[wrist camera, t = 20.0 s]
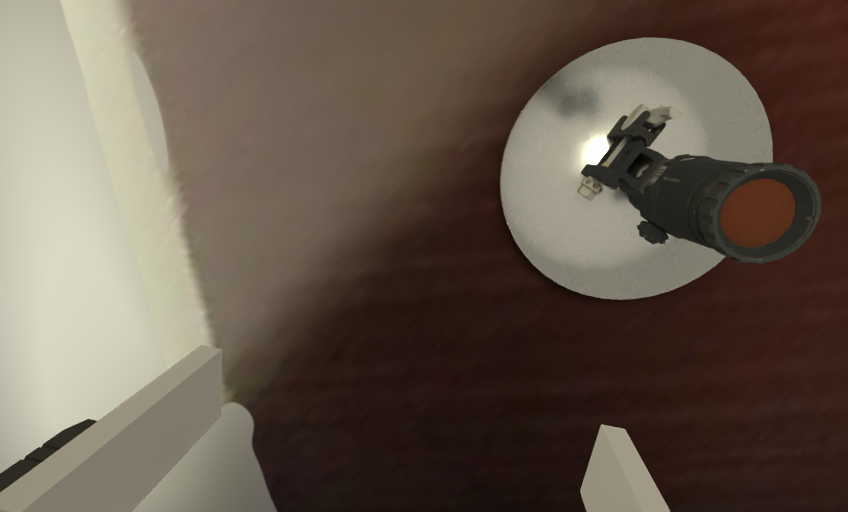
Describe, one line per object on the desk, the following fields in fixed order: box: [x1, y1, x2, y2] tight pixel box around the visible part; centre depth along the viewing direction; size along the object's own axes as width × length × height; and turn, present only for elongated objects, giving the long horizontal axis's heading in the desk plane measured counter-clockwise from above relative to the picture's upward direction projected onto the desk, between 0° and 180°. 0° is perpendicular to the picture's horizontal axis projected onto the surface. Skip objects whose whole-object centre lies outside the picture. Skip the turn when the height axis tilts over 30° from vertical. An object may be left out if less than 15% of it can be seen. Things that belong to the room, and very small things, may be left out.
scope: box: [577, 104, 821, 264], centre depth 28 cm, size 8×14×10 cm
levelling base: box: [499, 38, 773, 300], centre depth 36 cm, size 22×22×4 cm
